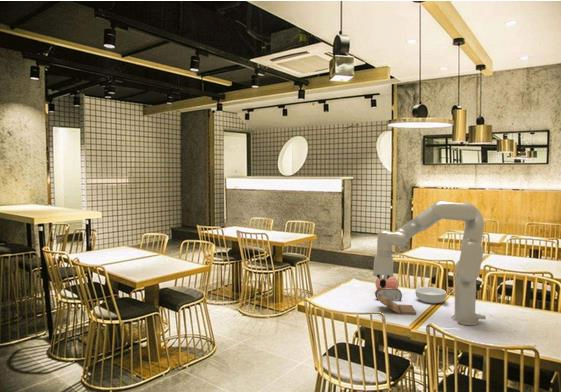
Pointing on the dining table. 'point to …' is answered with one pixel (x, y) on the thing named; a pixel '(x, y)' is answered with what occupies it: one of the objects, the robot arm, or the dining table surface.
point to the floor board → (407, 309)
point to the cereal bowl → (430, 294)
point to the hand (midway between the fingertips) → (382, 287)
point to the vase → (388, 282)
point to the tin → (389, 293)
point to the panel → (389, 303)
